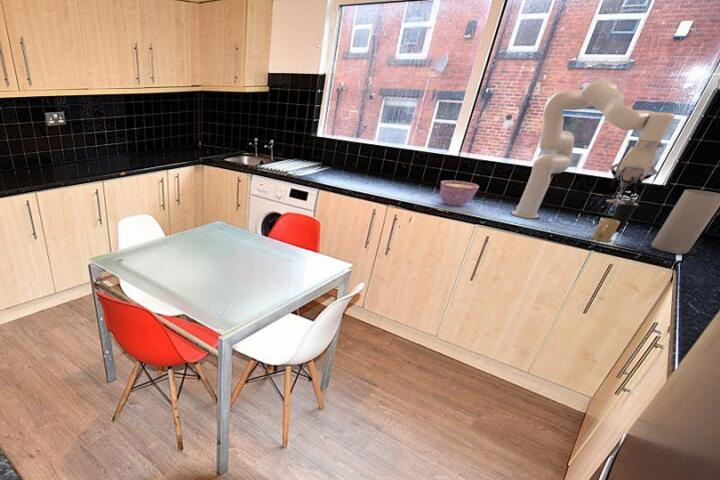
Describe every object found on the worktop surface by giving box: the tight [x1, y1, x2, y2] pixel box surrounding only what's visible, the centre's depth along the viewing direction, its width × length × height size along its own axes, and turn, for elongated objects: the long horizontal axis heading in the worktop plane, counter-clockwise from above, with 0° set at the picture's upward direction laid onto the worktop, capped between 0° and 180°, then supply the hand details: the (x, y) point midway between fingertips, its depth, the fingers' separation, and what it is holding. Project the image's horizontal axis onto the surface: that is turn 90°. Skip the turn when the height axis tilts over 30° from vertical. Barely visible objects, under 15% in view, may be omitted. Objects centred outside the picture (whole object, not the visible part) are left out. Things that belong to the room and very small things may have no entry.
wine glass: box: [605, 167, 644, 205], centre depth 189 cm, size 8×8×15 cm
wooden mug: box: [591, 217, 620, 242], centre depth 198 cm, size 10×7×9 cm
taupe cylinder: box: [650, 189, 720, 255], centre depth 184 cm, size 12×12×25 cm
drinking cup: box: [611, 189, 640, 233], centre depth 209 cm, size 8×8×20 cm
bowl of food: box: [439, 179, 480, 207], centre depth 246 cm, size 20×20×12 cm
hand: (623, 187), depth 189 cm, fingers closed on wine glass, 7 cm apart
